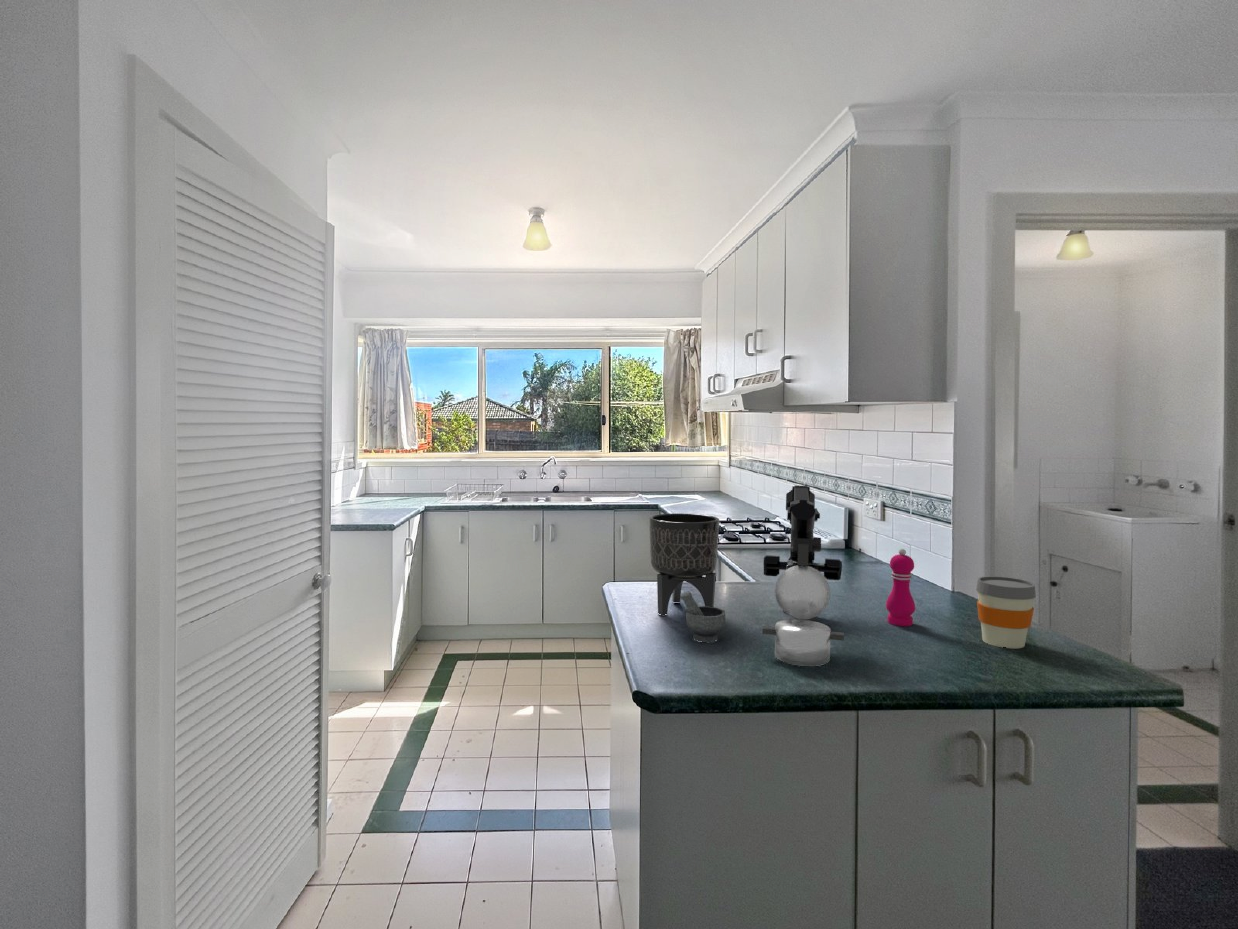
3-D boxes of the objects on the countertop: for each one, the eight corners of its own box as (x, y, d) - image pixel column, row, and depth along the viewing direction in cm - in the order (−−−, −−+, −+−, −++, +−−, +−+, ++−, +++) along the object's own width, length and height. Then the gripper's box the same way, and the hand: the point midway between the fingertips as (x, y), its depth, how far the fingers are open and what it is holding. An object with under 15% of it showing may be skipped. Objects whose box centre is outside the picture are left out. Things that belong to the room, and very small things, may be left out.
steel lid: (774, 617, 158) (774, 617, 159) (830, 621, 155) (829, 621, 156) (776, 542, 161) (776, 543, 162) (830, 545, 158) (830, 546, 159)
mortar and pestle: (717, 632, 168) (718, 585, 168) (731, 644, 159) (731, 594, 158) (675, 634, 166) (675, 587, 166) (685, 646, 157) (686, 596, 156)
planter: (724, 605, 194) (726, 515, 192) (708, 624, 175) (710, 524, 174) (660, 598, 201) (661, 511, 199) (638, 615, 183) (639, 520, 181)
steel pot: (762, 645, 158) (763, 616, 158) (840, 652, 154) (841, 622, 154) (761, 663, 147) (761, 631, 146) (845, 670, 142) (846, 638, 142)
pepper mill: (917, 627, 174) (920, 552, 173) (888, 625, 175) (890, 550, 174) (911, 620, 181) (913, 547, 180) (883, 618, 182) (885, 546, 181)
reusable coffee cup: (962, 637, 166) (964, 578, 165) (997, 632, 171) (999, 574, 170) (1009, 653, 154) (1012, 590, 154) (1045, 647, 159) (1048, 585, 158)
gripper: (764, 523, 167) (762, 576, 157) (842, 526, 163) (845, 581, 153) (764, 549, 176) (762, 600, 165) (839, 553, 171) (841, 606, 161)
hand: (801, 596), depth 161 cm, fingers closed
